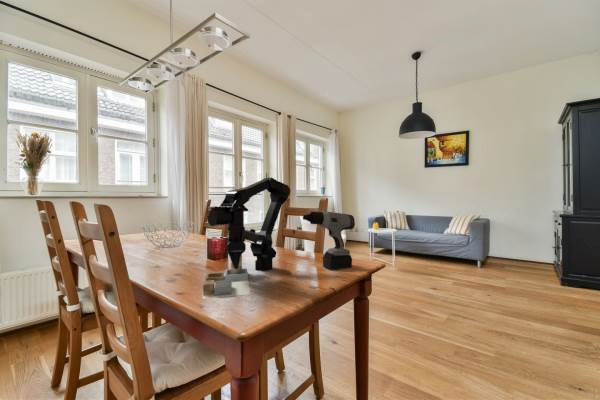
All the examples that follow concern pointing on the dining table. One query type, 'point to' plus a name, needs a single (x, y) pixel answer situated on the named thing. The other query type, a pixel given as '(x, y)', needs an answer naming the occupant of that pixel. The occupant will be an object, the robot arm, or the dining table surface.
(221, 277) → the dowel socket
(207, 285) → the bench dog
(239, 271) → the oak dowel
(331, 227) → the cordless drill
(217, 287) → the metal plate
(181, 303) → the dining table surface
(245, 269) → the parts tray
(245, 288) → the bench board
